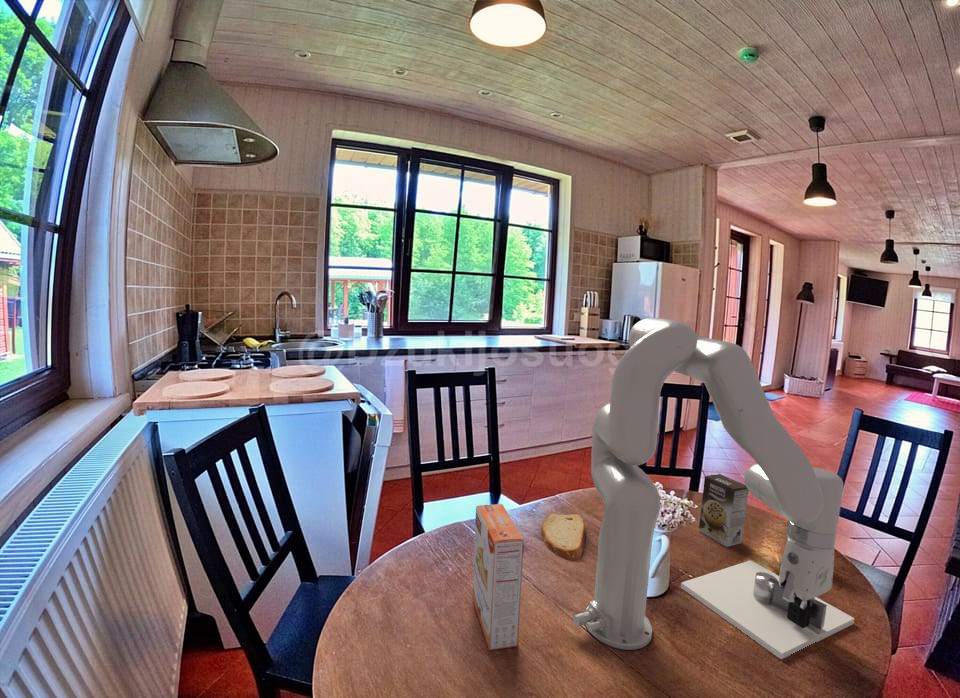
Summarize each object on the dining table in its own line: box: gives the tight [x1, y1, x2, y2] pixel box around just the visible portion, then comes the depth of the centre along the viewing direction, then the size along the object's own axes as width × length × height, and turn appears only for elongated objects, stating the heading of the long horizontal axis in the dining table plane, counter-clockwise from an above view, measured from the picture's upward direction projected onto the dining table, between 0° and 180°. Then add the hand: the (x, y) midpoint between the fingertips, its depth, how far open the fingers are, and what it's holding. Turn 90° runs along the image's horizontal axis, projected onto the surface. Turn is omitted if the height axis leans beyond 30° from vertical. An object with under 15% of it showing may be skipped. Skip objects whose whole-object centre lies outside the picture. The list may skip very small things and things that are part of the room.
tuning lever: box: [753, 572, 827, 629], centre depth 94 cm, size 12×4×4 cm, turn 35°
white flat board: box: [680, 560, 856, 660], centre depth 98 cm, size 24×22×1 cm
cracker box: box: [472, 503, 525, 651], centre depth 87 cm, size 14×6×21 cm, turn 13°
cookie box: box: [698, 473, 750, 548], centre depth 125 cm, size 9×6×16 cm
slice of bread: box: [541, 512, 586, 561], centre depth 122 cm, size 18×18×4 cm
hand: (797, 622), depth 90 cm, fingers closed
